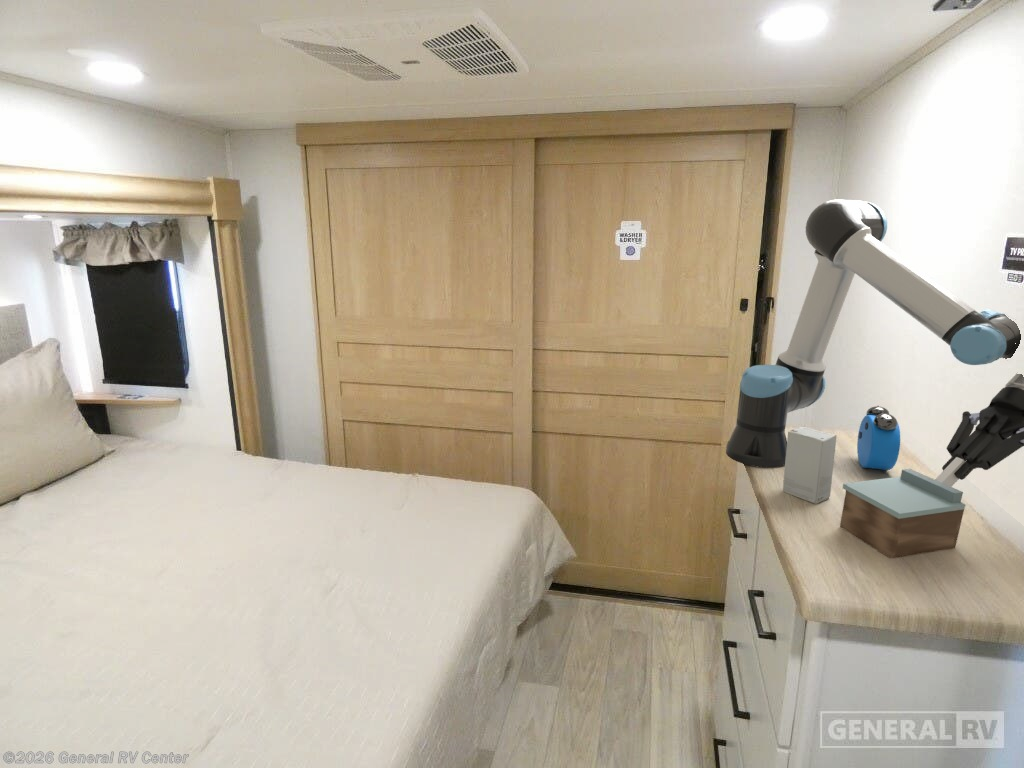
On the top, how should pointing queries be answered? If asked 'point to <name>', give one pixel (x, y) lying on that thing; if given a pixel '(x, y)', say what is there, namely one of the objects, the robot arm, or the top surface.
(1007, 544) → the top surface
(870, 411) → the alarm clock
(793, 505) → the top surface
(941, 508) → the lid
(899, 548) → the box
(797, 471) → the skincare box
